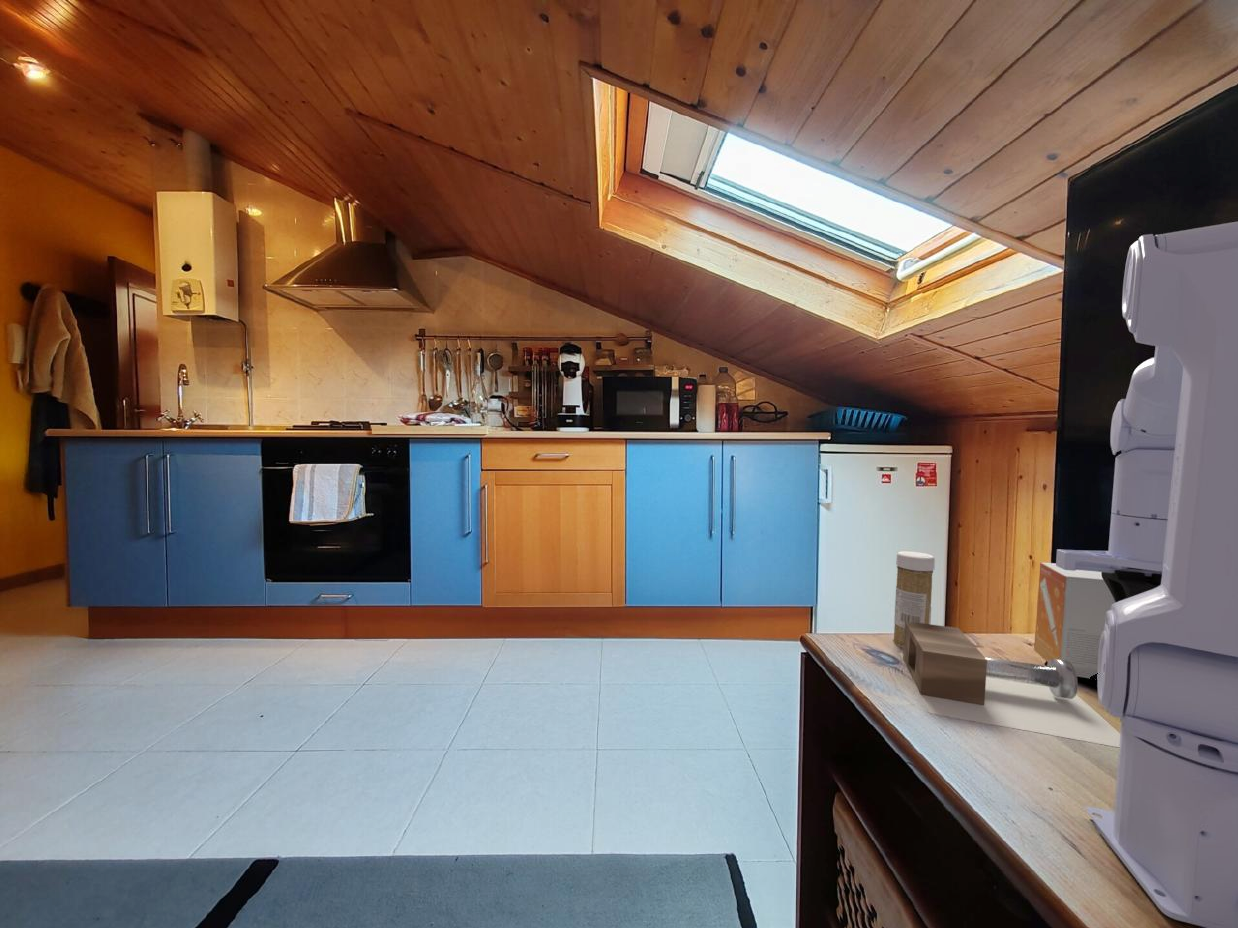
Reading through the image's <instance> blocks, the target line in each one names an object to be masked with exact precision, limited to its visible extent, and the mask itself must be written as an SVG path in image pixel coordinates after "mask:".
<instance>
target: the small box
mask: <svg viewBox="0 0 1238 928" xmlns="http://www.w3.org/2000/svg"><path fill="white" fill-rule="evenodd" d="M1101 573H1102V572H1096V571H1085V570H1075V571H1071V570H1064V569H1062V568H1060V567H1057V566H1056V562H1055V563H1053V562H1040V563H1039V579H1038V589H1037V590H1038V591H1037V602H1036V603H1037V604H1036V605H1037V606H1036V619H1035V631H1034V633H1035V634H1034V647H1033V650H1034V652H1036V653H1037V654H1038V655H1040V657H1042V659H1044V660H1045V661H1046V662H1047V663H1048V661H1049V660H1050V659H1052V658H1053V659H1060V660H1067V661H1069V662H1070V663H1071V664H1072V665H1073V667H1074V669H1075V672H1076V676H1077V678H1078V677H1079V678H1086V679H1090V677H1091V676H1093V675H1095V674H1097V673H1098V655H1099V645H1100V639H1101V635H1102V632H1103V631H1104V627H1105V619H1106V612H1107V611H1108V610H1111V605H1112V604H1114V603H1116V602H1115V600H1114V598H1113V596H1112V594H1111V592H1110V590H1109V588H1108V586H1107V585H1106V583H1105V581H1104V580H1103V578H1102V574H1101Z"/></svg>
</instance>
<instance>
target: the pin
mask: <svg viewBox="0 0 1238 928" xmlns="http://www.w3.org/2000/svg"><path fill="white" fill-rule="evenodd" d="M984 657H985V658H986V659H987V671H986V677H989V678H995V679H1002V680H1008V681H1014V682H1021V683H1027V684H1034V685H1040V686H1046V687H1049V689H1050V691H1051V692H1052V694H1053V695H1054V696H1056V697H1061V698H1068V699H1073V698H1074V697H1075V696H1076V695H1077V693H1078V685H1079V684H1078V676H1076V672H1075V669H1074V667H1073V665H1072V664H1071V663H1070V662H1069V661H1067V660H1060V659H1053V658H1052V659H1050V660H1049V661H1048V662H1047V664H1046V665H1044V664H1043V665H1042V664H1036V663H1028V662H1022V661H1015V660H1009V659H1001V658H996V657H995V658H994V657H989V656H984Z"/></svg>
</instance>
